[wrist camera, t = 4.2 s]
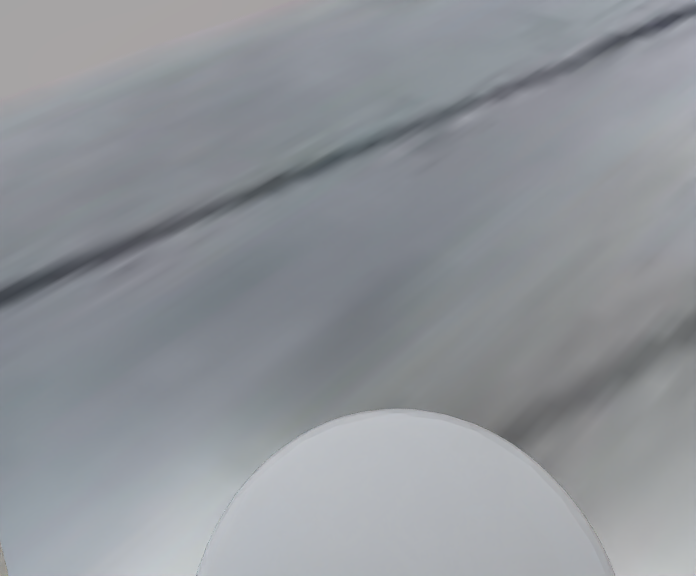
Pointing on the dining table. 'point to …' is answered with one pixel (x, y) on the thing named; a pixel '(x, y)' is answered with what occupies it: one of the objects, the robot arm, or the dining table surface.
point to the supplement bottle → (402, 506)
